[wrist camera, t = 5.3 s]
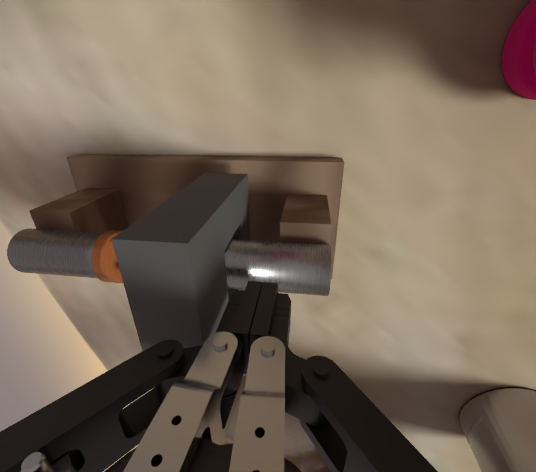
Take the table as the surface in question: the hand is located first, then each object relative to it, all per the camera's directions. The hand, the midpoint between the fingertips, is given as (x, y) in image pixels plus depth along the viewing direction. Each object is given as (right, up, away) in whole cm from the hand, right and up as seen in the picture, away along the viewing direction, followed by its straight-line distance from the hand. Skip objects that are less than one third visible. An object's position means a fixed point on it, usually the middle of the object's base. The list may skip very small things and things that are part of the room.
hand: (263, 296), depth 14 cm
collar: (-3, +3, +7) cm, 8 cm away
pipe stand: (-5, +5, +11) cm, 13 cm away
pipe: (-6, +2, +5) cm, 8 cm away
